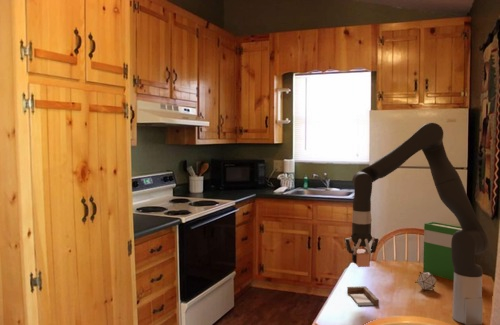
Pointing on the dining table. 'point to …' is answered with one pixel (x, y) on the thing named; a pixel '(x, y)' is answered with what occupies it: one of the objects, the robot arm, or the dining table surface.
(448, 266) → the hardback book
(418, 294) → the dining table surface
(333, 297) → the dining table surface
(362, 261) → the block
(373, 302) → the tray
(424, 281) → the game die
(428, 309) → the dining table surface
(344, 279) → the dining table surface
